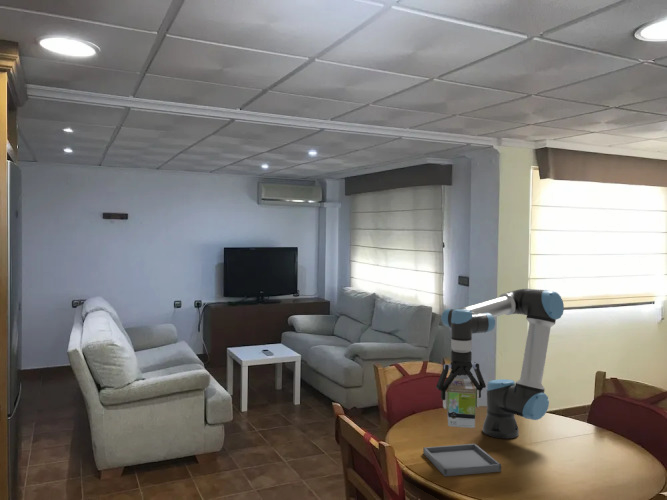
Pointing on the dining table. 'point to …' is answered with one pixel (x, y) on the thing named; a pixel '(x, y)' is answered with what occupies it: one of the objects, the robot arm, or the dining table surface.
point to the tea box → (461, 403)
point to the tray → (461, 459)
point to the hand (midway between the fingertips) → (460, 407)
